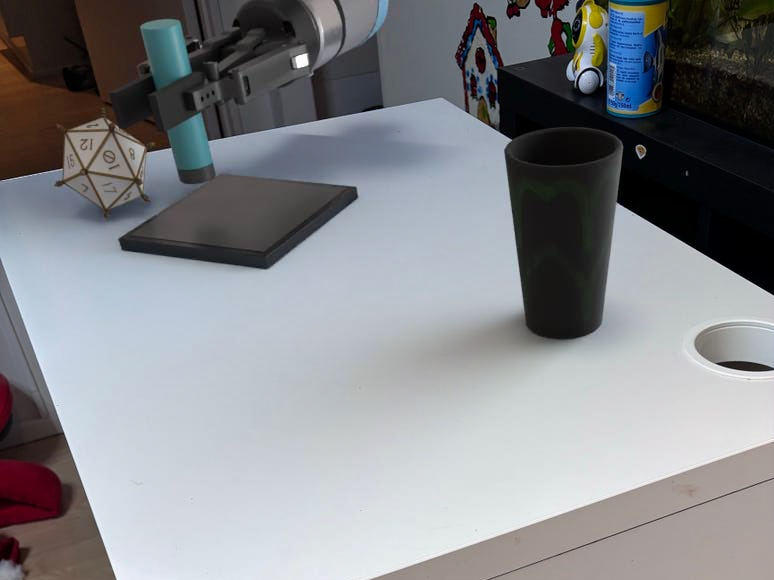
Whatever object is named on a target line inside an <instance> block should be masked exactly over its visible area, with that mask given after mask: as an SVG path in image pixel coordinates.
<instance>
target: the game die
mask: <svg viewBox="0 0 774 580" xmlns="http://www.w3.org/2000/svg"><path fill="white" fill-rule="evenodd" d="M99 112H100V113H99V115H100V116H101V117H97V118H95V119H93V120H90V121H87V122H85V123H82V124H80V125H77V126H74V127H71V128H69V129H66V128H65V126H63V124H59V123H58V124H57V123H56V124H55V125H56V127H57V130H58V131H60V133H63V153H62V154H63V155H62V174H61V175H62V177H61V180H59V179H58V180H56V181H55V183H54V185H53V187H57V188H61V187H63V185H65V186H66V187H68V188H69V189H71V190H72V191H74V192H76V193H77V194H78V195H80V196H81V197H83V198H85V199H86V200H87V201H89V202H91V203H92V204H93V205H95V206H97V207H98V208H100V210H103V213H102V214H103V215H102V217H103V218H104V219H105V221H106V222H107V221H108V219H109V218H110V212H109V211H111V210H113V209H116V208H118V207H120V206H122V205H125V204H127V203H129V202H132V201H134V200H136V199H139V198H142V200H144V202H151V201H150V200H151V199H150V197H149V196H148V195H147V194H145V193H144V187H145V178H146V164H147V154H148V153H147V152H148V149H153V148H154V146H155V144H156V142H152V141H148V142H147V143H145V144H144V143H143V142H141V140H139V139H138V138H136V137H134V136H133V135H131V134H130V133H129V132H127V131H126V130H125V129H119V127H118V124H117V123H114V122H113V121H111V120H110V119H109V118H107V117H106V116H107V110H106V109H105V107H104V106H103V107H102V108H101V109H100V110H99Z"/></svg>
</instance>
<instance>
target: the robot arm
mask: <svg viewBox="0 0 774 580" xmlns="http://www.w3.org/2000/svg"><path fill="white" fill-rule="evenodd" d="M388 9H389V0H246V1H244V2H243V3H242V4H241V5H240V6H239V7H238V9H237V11H236V13H235V15H234V17H233V21H232V24H231V27H228V28H226V29H223V30H222V31H221V33H219V34H218V35H215V36H213V37H210V38H208V39H205V40H203V42H202V43H201V44H200V40H199V39H197V37H196V36H194V35H185V37H184V41H185V45H186V49H187V53H188V58H189V62H190V66H191V71H192V73H191V74H189V75H187V76H185V77H183V78H181V79H179V80H177V81H175V82H173V83H171V84H169V85H167V86H165V87H163V88H161V89H159V90H157V91H156V87H155V83H154V79H153V75H152V71H151V68H150V64H149V60H148V59H146V60H145V61H143V62H141V63H139V64H137V65H136V68H137V72H138V76H139V77H138V78H136V79H134V80H132V81H129V82H128V83H125V84H123V85H120V86H119V87H117V88H115V89H113V90H111V91H109V92H108V96H109V99H110V103H111V106H112V110H113V113H114V117H115V120H116V125H117V126H118V127H119V129H123V130H127V129H130V128H132V127H133V126H135V125H137V124H138V123H141V122H142V121H144V120H146V119H148V118H150V117H152V116H153V120H154V123H155V124H154V125H155V128H156V130H157V132H158V133H167V131H168V130H170V129H172V128H174V127H175V126H177V125H179V124H181V123H183V122H184V121H186V120H188V119H190V118H192V117H193V116H195V115H197V114H199V113H200V112H201V113H203V112H205V111H206V110H209V108H211V106H212V105H213V106H218V107H221V106H225V105H226V104H227V103H229V102H230V101H231V100H232V99H233V103H234V105H239V106H243V105H246V104H247V103H250V102H252V101H253V100H255V99H257V98H259V97H261V96H263V95H265V94H267V93H269V92H271V91H273V90H275V89H284V88H286V87H289V86H290V85H292V84H294V83H296V82H297V81H299V80H301V79H303V78H305V77H307V78H309V77H311V76H313V75H314V71H315V70H317V69H318V68H320V67H322V66H323V65H325V64H327V63H329V62H330V61H333V59H336V58H337V57H339V56H341V55H343V54H344V53H346V52H348V51H350V50H352V49H353V50H354V49H356V48H358V47H360V46H362V45H363V44H364V43H365V42H367V40H368V39H370V38H371V37H373V36H374V35H375V34H376V33H377V32H378V31H379V30H380V28H381V27H382V25H383V24H384V22H385V20H386V18H387V14H388V12H389V11H388ZM157 132H156V133H157Z"/></svg>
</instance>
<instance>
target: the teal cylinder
mask: <svg viewBox="0 0 774 580" xmlns="http://www.w3.org/2000/svg"><path fill="white" fill-rule="evenodd" d="M139 28H140V33H141V36H142V40H143V44H144V47H145V48H144V49H145V52H146V55H147V60H149V64H150V68H151V71H152V75H153V79H154V83H155V87H156V91H157V90H159V89H161V88H163V87H165V86H167V85H169V84H171V83H173V82H175V81H177V80H179V79H181V78H183V77H185V76H187V75H189V74H191V73H192V71H191V66H190V62H189V58H188V53H187V49H186V45H185V41H184V32H183V28H182V24H181V21H180V20H178V19H174V18H163V19H156V20H151V21H147V22H144V23H143V24H141V25H140V26H139ZM202 113H203V112H200V113H199V114H197V115H195V116H193V117H192V118H190V119H188V120H186V121H184V122H183V123H181V124H179V125H177V126H175V127H174V128H172V129H170V130H168V131H166V133H167V137H168V140H169V145H170V148H171V153H172V156H173V160H174V165H175V167H176V172H177V176H178V179H179V182H180V183H182V184H185V185H199V184H205V183H206V182H208V181H210V180H212V179H213V178H215V177H216V176H217V174H216V170H215V165H214V161H213V156H212V152H211V148H210V144H209V140H208V135H207V130H206V126H205V122H204V118H203V114H202Z"/></svg>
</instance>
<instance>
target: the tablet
mask: <svg viewBox="0 0 774 580" xmlns="http://www.w3.org/2000/svg"><path fill="white" fill-rule="evenodd" d="M358 194H359V193H358V188H357V186H353V185H344V184H343V185H342V184H333V183H322V182H313V181H303V180H302V181H301V180H293V179H292V180H291V179H283V178H281V179H280V178H272V177H271V178H270V177H261V176H249V175H239V174H230V173H219V174H218V175H217V174H216V176H215V178H213V179H212V180H210V181H208V182H204V183H202V184H201V185H200V186H199V187H197V188H196V189H194V190H192V191H191V192H189V193H187V194H186V195H184V196H183V197H181V198H179V199H178V200H177V201H175V202H173V203H171V204H170V205H169V206H167V207H166V208H164V209H162V210H161V211H159V212H158V213H156V214H155V215H153V216H152V217H150V218H148V219H147V220H145V221H144V222H142V223H140V224H139V225H137V226H136V227H134V228H133V229H131V230H130V231H128V232H126V233H125V234H123V235H121V236H119V237H118V238H117V239H118V243H119V246H120V249H121V250H123V251H129V252H137V253H138V252H139V253H145V254H154V255H160V256H168V257H176V258H184V259H191V260H198V261H199V260H200V261H208V262H213V263H214V262H215V263H222V264H231V265H237V266H245V267H253V268H261V269H270V268H271V266H273V265H275V263H277V262H279V260H281V259H282V258H283V257H284V256H285V255H287V254H288V253H290V252H291V251H292V250H294V248H296V247H297V246H298V245H300V244H301V243H302V242H304V241H305V240H306V239H307V238H309V237H310V236H311V235H312V234H313V233H315V232H316V231H318V230H319V229H320V228H321V227H322V226H324V225H325V224H326V223H328V222H329V221H330V220H331V219H333V218H334V217H335V216H337V215H338V214H339V213H340V212H342V211H343V210H344V209H346V207H348V206H349V205H350V204H352V203H353V202H354V201H355V200H357V199H358V198H359V195H358Z"/></svg>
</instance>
